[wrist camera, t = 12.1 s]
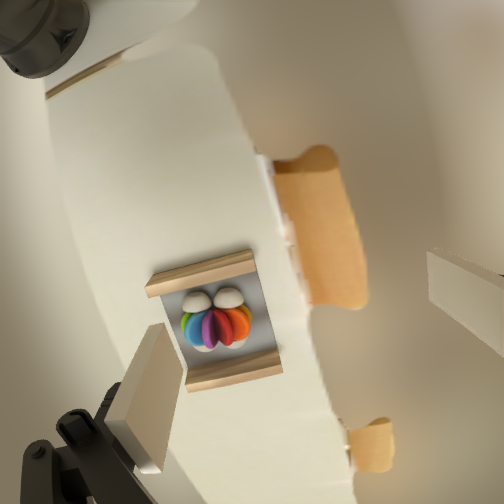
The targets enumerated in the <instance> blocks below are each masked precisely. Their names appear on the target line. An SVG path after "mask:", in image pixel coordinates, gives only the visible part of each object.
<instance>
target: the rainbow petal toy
mask: <svg viewBox="0 0 504 504" xmlns="http://www.w3.org/2000/svg"><path fill="white" fill-rule="evenodd" d="M243 302H244V298H243V296H242V294H241V293H240V292H239V291H238V290H236V289H234V288H224V289H221V290H220V291H218V292H217V294H216V295H215V297H214V302H213V303H214V305H215V306H216V307H217V309H214V310H212V309H210V307H211V305H212V301H211V300H210V298H209V297H208V296H207V295H206V294H204V293H202V292H194V293H191V294H189V295H187V296H186V297H185V299H184V301H183V304H182V309H183V311H185V312H186V313H185V314H184V315H183V317H182V320H181V328H182V331H183V332H184V337H185V339H186V341H187V342H188V343H189V344H191V345H193V347H194V348H195V349H197V350H198V351H201V352H210V351H212V350H213V349H215V348H216V347H217V345H218V343H219V341H220V342H221V343H222V344H223V345H224V346H226V347H227V348H231V349H237V348H240V347H241V346H243V345H244V344H245V343H246V341H247V339H248V334H249V332H250V329H251V324H250V323H251V320H252V316H251V313H250V311H249V309H248V308H247V307H246V306H245V305H243V304H242V303H243Z"/></svg>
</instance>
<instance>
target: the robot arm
mask: <svg viewBox="0 0 504 504" xmlns="http://www.w3.org/2000/svg"><path fill="white" fill-rule="evenodd" d="M88 25H89V11H88V8H87V6H86V4H85V3H84V2H83V1H82V0H0V56H1V57H2V58H3V60H4V61H5V62H6V63H7V65H8V66H9V68H10V69H11V70H12V71H13V72H14V73H16V74H18V75H20V76H23V77H26V78H30V79H31V78H32V79H35V78H41V77H44V76H46V75H49V74H50V73H52V72H54V71H56V70H57V69H58V68H60V67H61V66H62V65H63V64H65V63H66V62H67V61H68V60H69V59H70V58H71V56H72V55H73V54H74V53H75V52H76V50H77V49H78V47H79V46H80V44H81V43H82V41H83V39H84V37H85V34H86V32H87V29H88ZM426 253H427V266H428V285H429V300H430V301H431V302H432V303H434V304H435V305H436V306H438V307H440V309H442V310H443V311H444V312H446V313H447V314H449V315H450V316H451V317H452V318H454V319H455V320H457V321H458V322H459V323H460V324H462V325H463V326H465V327H466V328H467V329H468V330H470V331H471V332H472V333H473V334H475V335H476V336H477V337H478V338H480V339H481V340H482V341H484V342H485V343H486V344H487V345H489V346H490V347H491V348H492V349H494V350H495V351H496V352H497V353H499V354H500V355H501V356H502V357H503V358H504V275H499V274H496V273H494V272H492V271H490V270H488V269H486V268H483V267H481V266H479V265H477V264H475V263H473V262H471V261H468V260H466V259H464V258H462V257H460V256H457V255H455V254H453V253H451V252H448V251H446V250H444V249H441V248H439V247H436V248H433V249H430V250H427V251H426ZM182 374H183V367H182V365H181V363H180V360H179V358H178V356H177V353H176V351H175V349H174V346H173V344H172V341H171V339H170V337H169V334H168V332H167V329H166V327H165V324H164V323H160V324H155V325H150V326H149V327H148V329H147V331H146V333H145V335H144V337H143V339H142V341H141V343H140V345H139V347H138V349H137V351H136V353H135V355H134V357H133V359H132V362H131V364H130V366H129V368H128V370H127V372H126V374H125V376H124V378H123V380H122V382H117V383H115V384H114V385H113V386H112V387H111V388H110V389H109V390H108V392H107V394H106V395H105V398H104V401H103V402H102V403H101V405H100V406H101V407H99V409H98V412H97V414H96V416H95V418H94V420H93V419H92V417H91V415H90V414H89V412H87V411H86V410H85V409H74V410H72V411H69V412H67V413H66V414H64V415H63V416H62V417H61V418H60V419H59V420H58V422H57V424H56V430H57V432H58V433H59V435H60V436H61V437H62V438H63V440H64V441H65V442H66V444H67V445H68V446H65V447H60V448H56V449H55V448H54V447H53V445H52V444H51V443H50V442H49V441H48V440H44V439H43V440H37V441H35V442H33V443H31V444H30V445H29V446H28V447H27V449H26V450H25V452H24V455H23V466H22V478H21V496H20V504H94V503H93V498H94V499H95V501H96V503H97V504H158V503H157V502H156V501H155V499H154V498H153V497H152V496H151V495H150V493H149V492H148V491H147V490H146V488H145V487H144V486H143V485H142V483H141V482H140V481H139V480H138V478H137V477H136V476H135V475H134V473H133V470H134V466H135V465H136V466H137V467H138V468H139V470H140V471H141V472H142V473H143V474H151V473H162V471H163V466H164V461H165V455H166V451H167V446H168V440H169V436H170V431H171V426H172V421H173V416H174V411H175V407H176V402H177V397H178V393H179V388H180V383H181V379H182ZM92 496H93V498H92Z"/></svg>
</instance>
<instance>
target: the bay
mask: <svg viewBox="0 0 504 504" xmlns="http://www.w3.org/2000/svg"><path fill="white" fill-rule="evenodd" d="M144 288H145V291H146V293H147V296H148V298H151V297H155V296H159V295H160V297H161V300H162V303H163V306H164V308H165V311H166V314H167V316H168V319H169V321H170V324H171V327H172V329H173V332H174V334H175V337H176V339H177V342H178V344H179V346H180V349H181V351H182V354H183V356H184V358H185V361H186V363H187V366H188V372H187V377H186V382H185V387H186V389H187V391H188V393H190V392H196V391H202V390H207V389H213V388H218V387H223V386H228V385H232V384H237V383H242V382H246V381H251V380H255V379H259V378H264V377H268V376H272V375H276V374H280V373H283V369H282V364H281V360H280V356H279V352H278V349H277V345H276V341H275V337H274V334H273V330H272V326H271V322H270V318H269V315H268V311H267V307H266V303H265V300H264V296H263V292H262V288H261V284H260V281H259V277H258V273H257V269H256V265H255V262H254V258H253V254H252V250H251V249H250V250H246V251H242V252H238V253H235V254H231V255H227V256H223V257H219V258H216V259H212V260H208V261H204V262H200V263H197V264H193V265H189V266H185V267H181V268H178V269H174V270H170V271H166V272H162V273H159V274H155V275H153V276H152V277H151V279H150V280H149V282H148V283H147V284H146V286H145V287H144ZM224 288H234V289H236V290H238V291H239V292H240V293H241V294H242V296H243V298H244V302H243V303H242V304H243V305H245V306H246V307H247V308H248V309H249V311H250V313H251V316H252V320H251V323H250V324H251V329H250V332H249V334H248V339H247V341H246V343H245V344H244V345H243V346H241V347H240V348H237V349H231V348H227V347H226V346H224V345H223V344H222V343H221V342H220V341H219V343H218V345H217V347H216V348H215V349H213V350H212V351H210V352H201V351H198V350H197V349H195V348H194V347H193V345H191V344H189V343H188V342H187V341H186V339H185V337H184V332H183V331H182V328H181V320H182V317H183V315H184V314H185V313H186V312H185V311H183V309H182V304H183V301H184V299H185V297H186V296H187V295H189V294H191V293H194V292H202V293H204V294H206V295H207V296H208V297H209V298H210V300H211V301H212V305H211V307H210V309H212V310H214V309H217V307H216V306H215V305H214V303H213V302H214V297H215V295H216V294H217V292H218V291H220V290H221V289H224Z"/></svg>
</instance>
